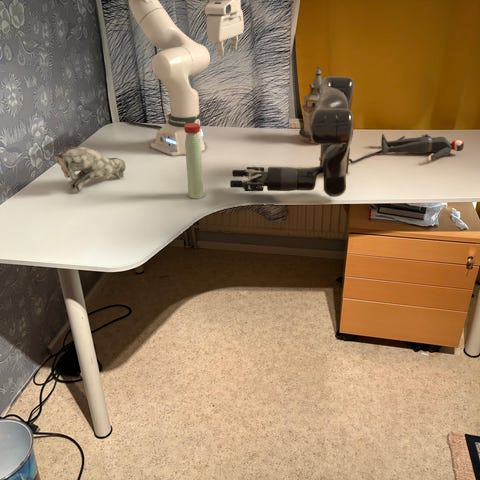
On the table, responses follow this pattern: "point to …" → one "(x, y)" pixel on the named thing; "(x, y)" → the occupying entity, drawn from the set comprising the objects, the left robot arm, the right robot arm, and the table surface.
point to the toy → (421, 145)
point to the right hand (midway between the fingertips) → (231, 178)
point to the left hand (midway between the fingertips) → (227, 53)
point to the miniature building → (311, 105)
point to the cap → (192, 128)
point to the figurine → (88, 166)
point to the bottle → (194, 165)
